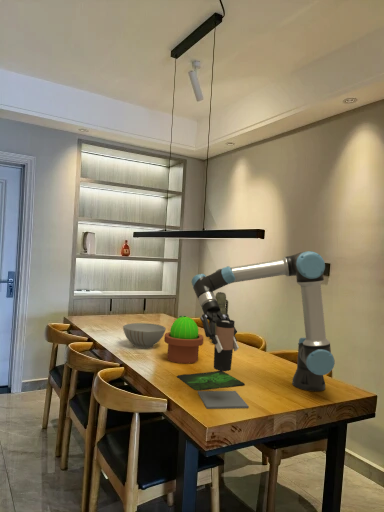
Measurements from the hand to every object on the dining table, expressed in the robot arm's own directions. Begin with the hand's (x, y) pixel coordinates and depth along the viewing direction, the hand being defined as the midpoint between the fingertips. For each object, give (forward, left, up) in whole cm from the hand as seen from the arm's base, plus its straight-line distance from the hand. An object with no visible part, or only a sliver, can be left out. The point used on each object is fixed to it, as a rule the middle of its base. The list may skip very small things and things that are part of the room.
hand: (228, 350), depth 157 cm
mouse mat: (-1, -28, -22) cm, 36 cm away
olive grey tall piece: (-26, -106, -22) cm, 111 cm away
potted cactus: (+6, -64, -22) cm, 68 cm away
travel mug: (+1, -3, -9) cm, 9 cm away
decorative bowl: (+26, -94, -22) cm, 100 cm away
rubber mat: (0, -3, -22) cm, 22 cm away
